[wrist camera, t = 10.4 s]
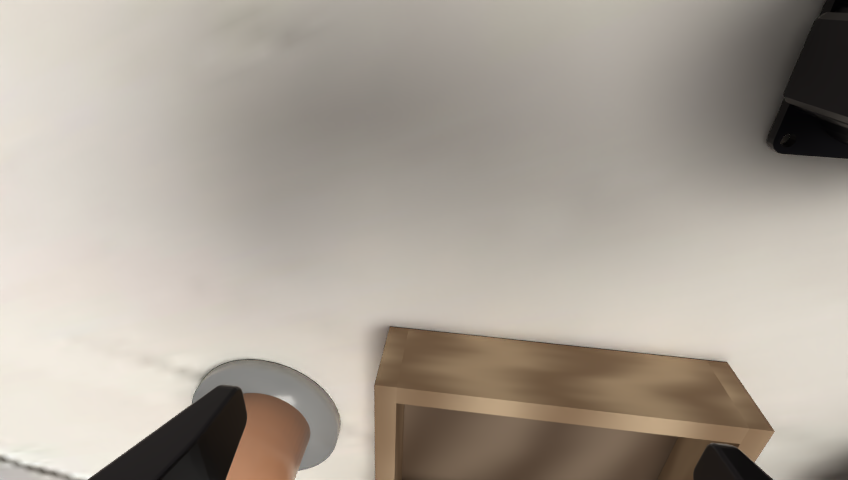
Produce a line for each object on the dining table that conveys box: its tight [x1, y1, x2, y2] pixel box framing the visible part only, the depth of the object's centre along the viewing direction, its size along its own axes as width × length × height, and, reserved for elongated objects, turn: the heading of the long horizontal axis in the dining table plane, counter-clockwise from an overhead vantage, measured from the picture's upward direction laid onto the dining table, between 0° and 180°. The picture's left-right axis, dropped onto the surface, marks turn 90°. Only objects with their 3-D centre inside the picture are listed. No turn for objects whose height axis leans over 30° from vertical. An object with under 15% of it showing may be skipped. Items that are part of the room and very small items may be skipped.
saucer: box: [192, 360, 340, 471], centre depth 27 cm, size 9×9×1 cm
